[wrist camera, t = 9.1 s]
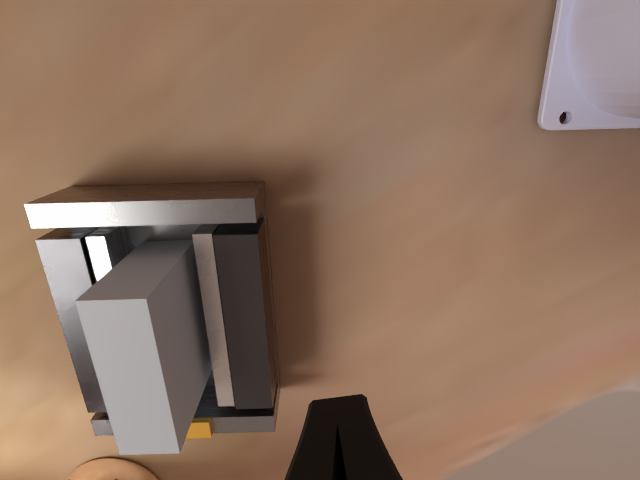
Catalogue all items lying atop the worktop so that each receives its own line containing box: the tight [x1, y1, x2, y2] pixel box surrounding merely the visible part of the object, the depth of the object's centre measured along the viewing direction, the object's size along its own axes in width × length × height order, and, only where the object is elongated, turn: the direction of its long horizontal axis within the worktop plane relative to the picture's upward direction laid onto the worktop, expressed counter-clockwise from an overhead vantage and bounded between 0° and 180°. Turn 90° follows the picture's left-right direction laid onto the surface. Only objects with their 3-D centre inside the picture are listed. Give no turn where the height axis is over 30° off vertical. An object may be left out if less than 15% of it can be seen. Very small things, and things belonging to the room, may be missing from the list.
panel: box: [75, 240, 212, 455], centre depth 17 cm, size 2×7×6 cm, turn 2°
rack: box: [24, 181, 280, 439], centre depth 19 cm, size 9×12×3 cm
